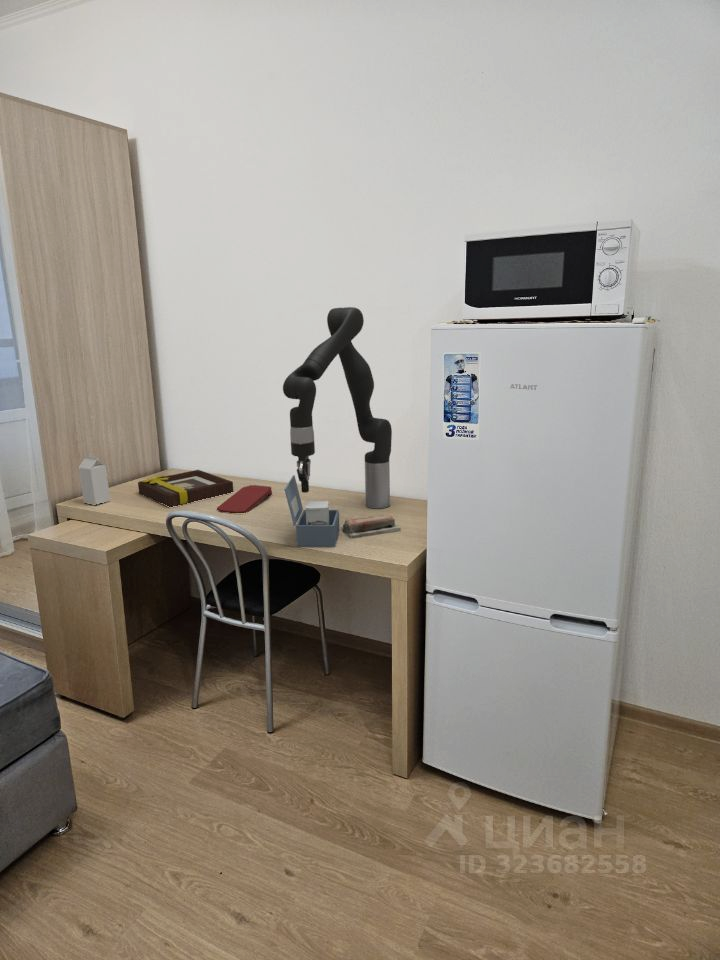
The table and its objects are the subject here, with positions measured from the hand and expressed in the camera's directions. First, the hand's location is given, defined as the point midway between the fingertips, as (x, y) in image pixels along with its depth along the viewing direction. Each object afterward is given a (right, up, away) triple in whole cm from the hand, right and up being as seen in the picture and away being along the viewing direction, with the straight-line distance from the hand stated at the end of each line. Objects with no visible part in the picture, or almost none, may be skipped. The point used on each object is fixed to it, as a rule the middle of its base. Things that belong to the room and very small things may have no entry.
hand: (305, 491), depth 208 cm
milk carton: (-87, -5, +46) cm, 99 cm away
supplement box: (+4, -16, -1) cm, 17 cm away
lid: (-3, -2, -1) cm, 4 cm away
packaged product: (+22, -14, +8) cm, 27 cm away
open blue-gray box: (+4, -15, +2) cm, 16 cm away
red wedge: (-26, -6, +41) cm, 49 cm away
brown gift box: (-54, -2, +57) cm, 79 cm away
